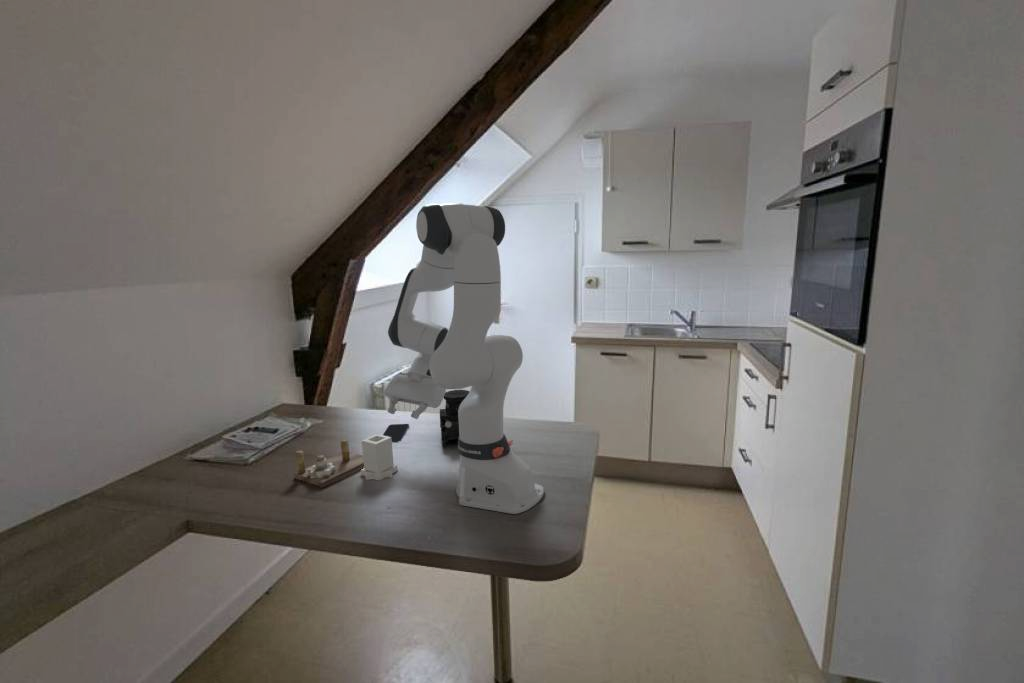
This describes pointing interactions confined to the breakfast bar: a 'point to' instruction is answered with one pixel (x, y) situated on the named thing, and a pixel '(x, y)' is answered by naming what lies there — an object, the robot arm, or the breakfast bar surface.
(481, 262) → the robot arm
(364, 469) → the white square socket
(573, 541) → the breakfast bar surface
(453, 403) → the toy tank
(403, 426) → the smartphone
